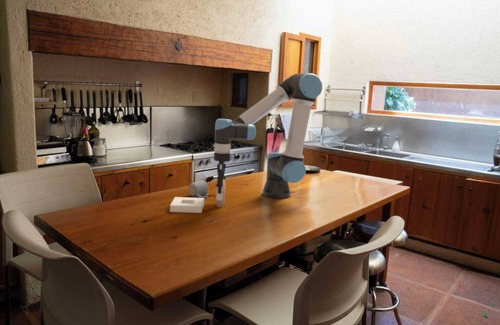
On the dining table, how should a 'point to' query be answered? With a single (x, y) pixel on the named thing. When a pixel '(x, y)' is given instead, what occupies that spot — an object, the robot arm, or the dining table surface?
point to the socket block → (187, 205)
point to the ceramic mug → (198, 189)
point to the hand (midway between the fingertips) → (220, 196)
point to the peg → (222, 202)
